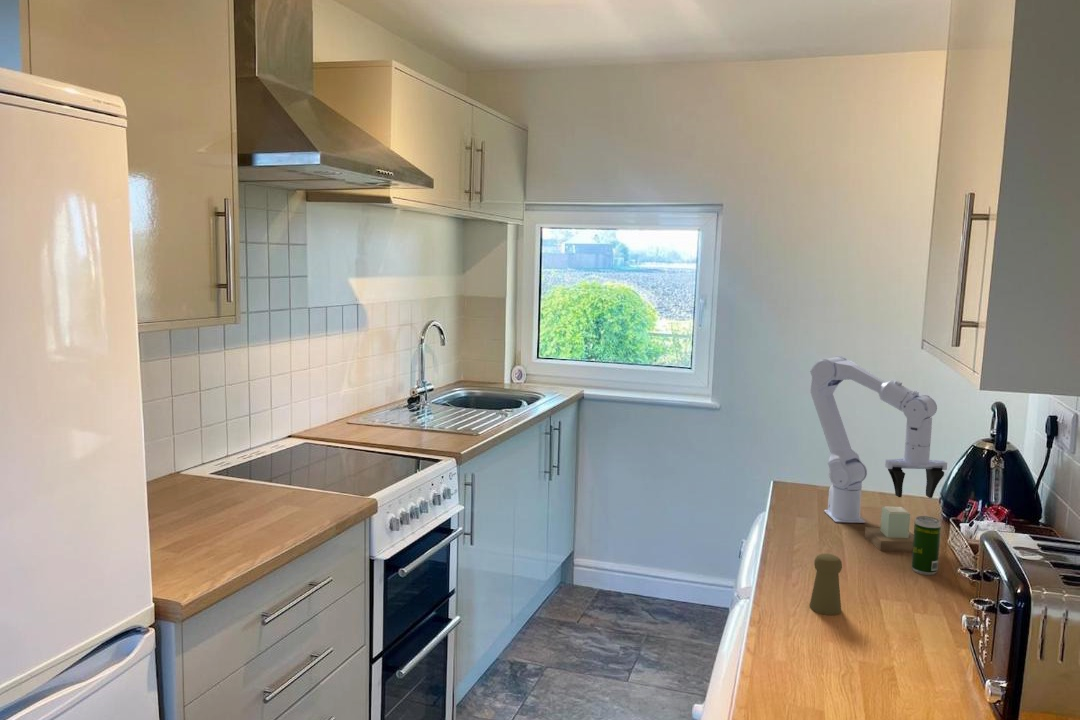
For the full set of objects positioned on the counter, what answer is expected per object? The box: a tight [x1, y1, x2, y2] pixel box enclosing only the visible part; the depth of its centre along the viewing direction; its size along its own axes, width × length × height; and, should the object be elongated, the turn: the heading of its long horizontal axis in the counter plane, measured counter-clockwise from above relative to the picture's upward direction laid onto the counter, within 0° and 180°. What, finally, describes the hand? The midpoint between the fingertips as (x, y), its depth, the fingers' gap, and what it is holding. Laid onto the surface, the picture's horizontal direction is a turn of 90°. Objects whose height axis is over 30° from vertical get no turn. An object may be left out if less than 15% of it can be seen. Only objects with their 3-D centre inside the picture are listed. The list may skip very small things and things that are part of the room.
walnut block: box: [864, 526, 914, 553], centre depth 194 cm, size 10×10×3 cm
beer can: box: [910, 515, 942, 576], centre depth 176 cm, size 5×5×12 cm
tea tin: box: [880, 505, 911, 538], centre depth 193 cm, size 5×5×6 cm
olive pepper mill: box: [809, 553, 843, 616], centre depth 156 cm, size 6×6×11 cm
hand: (913, 496), depth 198 cm, fingers open, 7 cm apart
